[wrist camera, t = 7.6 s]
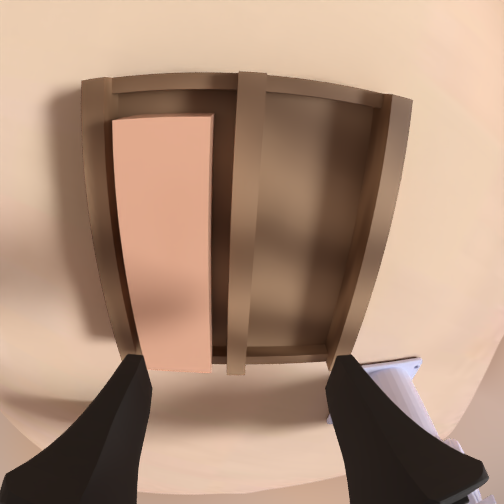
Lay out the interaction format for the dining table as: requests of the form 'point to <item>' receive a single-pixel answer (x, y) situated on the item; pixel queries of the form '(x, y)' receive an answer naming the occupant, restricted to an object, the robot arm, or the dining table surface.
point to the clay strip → (168, 233)
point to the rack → (265, 205)
